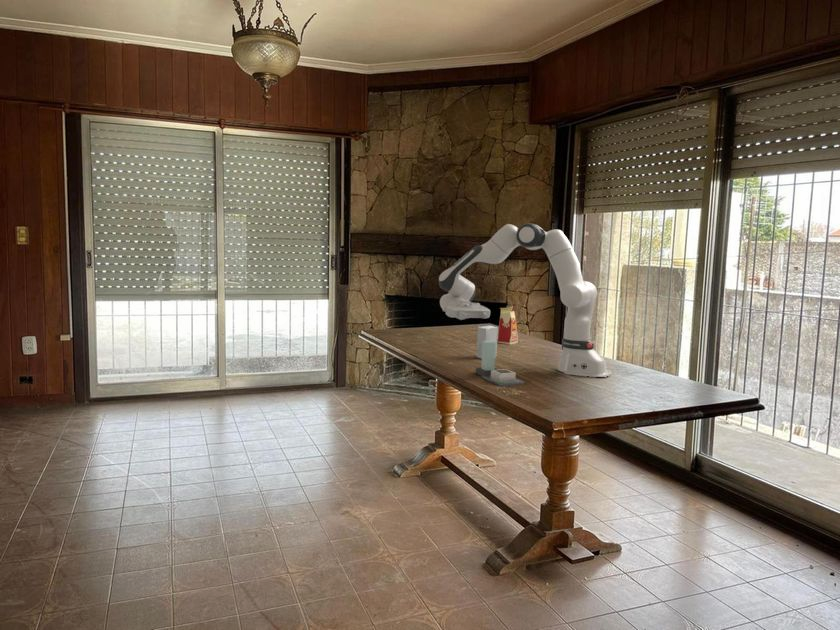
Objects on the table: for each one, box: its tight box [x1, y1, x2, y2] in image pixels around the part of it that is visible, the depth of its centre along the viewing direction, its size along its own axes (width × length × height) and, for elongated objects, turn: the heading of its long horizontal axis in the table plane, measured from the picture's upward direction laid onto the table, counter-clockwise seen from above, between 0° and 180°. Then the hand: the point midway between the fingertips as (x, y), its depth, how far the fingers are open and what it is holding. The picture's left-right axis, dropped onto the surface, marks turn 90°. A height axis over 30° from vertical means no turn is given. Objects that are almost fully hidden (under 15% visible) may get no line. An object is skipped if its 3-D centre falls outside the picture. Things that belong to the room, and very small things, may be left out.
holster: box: [475, 366, 499, 377], centre depth 264 cm, size 7×7×2 cm
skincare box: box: [476, 324, 499, 360], centre depth 299 cm, size 8×6×15 cm
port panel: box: [481, 368, 525, 387], centre depth 254 cm, size 14×11×4 cm
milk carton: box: [497, 305, 519, 345], centre depth 343 cm, size 9×9×20 cm
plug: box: [480, 341, 496, 371], centre depth 264 cm, size 4×4×14 cm
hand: (476, 316), depth 274 cm, fingers open, 8 cm apart
